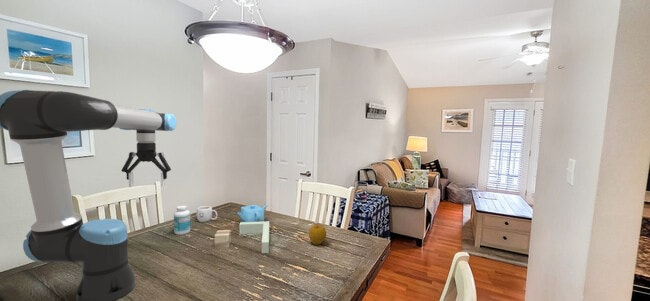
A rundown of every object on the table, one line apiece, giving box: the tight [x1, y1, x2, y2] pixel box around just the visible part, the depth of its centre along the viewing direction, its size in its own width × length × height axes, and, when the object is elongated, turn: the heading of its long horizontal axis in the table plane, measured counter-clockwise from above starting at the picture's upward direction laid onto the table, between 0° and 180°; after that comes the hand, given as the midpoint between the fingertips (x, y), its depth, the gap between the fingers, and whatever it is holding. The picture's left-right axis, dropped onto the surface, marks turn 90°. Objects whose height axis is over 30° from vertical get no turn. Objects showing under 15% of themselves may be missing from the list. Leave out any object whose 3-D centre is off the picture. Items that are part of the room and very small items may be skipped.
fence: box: [238, 220, 270, 254], centre depth 129 cm, size 26×15×5 cm, turn 11°
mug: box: [195, 205, 219, 223], centre depth 155 cm, size 12×8×8 cm
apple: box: [308, 224, 327, 246], centre depth 129 cm, size 8×8×9 cm
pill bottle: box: [173, 205, 191, 236], centre depth 137 cm, size 8×7×14 cm
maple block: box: [214, 229, 232, 249], centre depth 125 cm, size 6×6×6 cm
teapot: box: [236, 204, 269, 222], centre depth 150 cm, size 16×18×11 cm
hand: (147, 186), depth 129 cm, fingers open, 13 cm apart
